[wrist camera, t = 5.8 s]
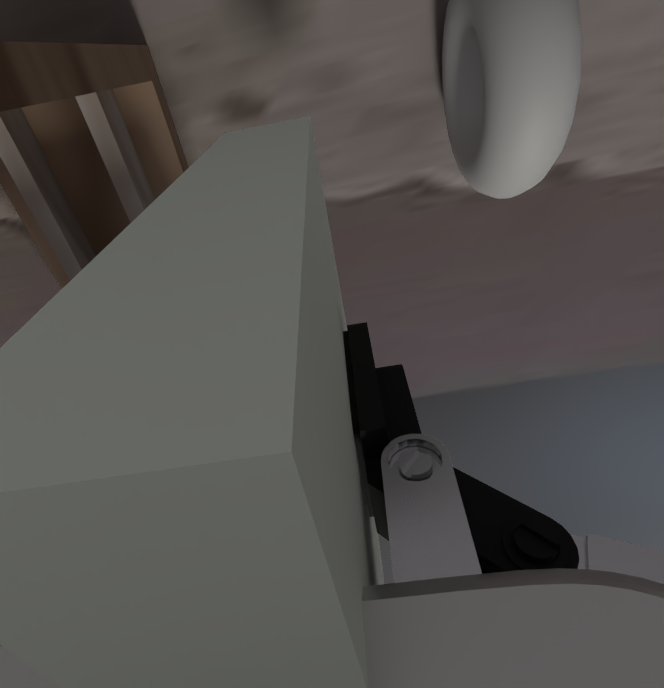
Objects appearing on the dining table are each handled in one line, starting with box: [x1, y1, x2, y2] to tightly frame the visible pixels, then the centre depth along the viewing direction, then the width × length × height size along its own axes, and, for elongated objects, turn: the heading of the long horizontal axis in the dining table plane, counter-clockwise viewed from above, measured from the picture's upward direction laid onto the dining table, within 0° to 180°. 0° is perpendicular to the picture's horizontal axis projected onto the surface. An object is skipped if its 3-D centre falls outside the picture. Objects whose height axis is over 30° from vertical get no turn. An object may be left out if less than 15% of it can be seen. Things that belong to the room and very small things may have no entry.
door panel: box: [0, 116, 384, 688], centre depth 10 cm, size 2×12×12 cm, turn 9°
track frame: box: [0, 41, 188, 289], centre depth 21 cm, size 10×18×15 cm, turn 9°
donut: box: [442, 0, 582, 199], centre depth 19 cm, size 10×4×10 cm, turn 11°
